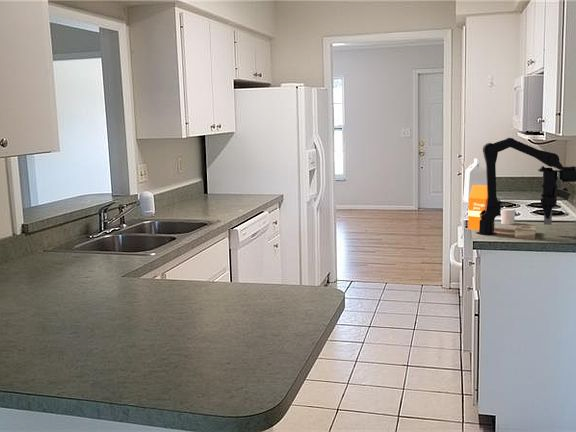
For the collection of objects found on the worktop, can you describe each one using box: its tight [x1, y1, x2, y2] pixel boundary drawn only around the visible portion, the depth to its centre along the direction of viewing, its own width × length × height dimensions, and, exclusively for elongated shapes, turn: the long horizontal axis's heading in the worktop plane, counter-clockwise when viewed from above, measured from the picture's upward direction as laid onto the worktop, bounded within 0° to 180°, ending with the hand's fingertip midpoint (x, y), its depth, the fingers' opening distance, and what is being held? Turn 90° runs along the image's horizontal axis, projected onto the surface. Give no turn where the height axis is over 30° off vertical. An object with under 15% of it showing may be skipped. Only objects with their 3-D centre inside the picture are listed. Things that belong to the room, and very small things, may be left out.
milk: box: [462, 158, 487, 204], centre depth 380 cm, size 12×12×26 cm
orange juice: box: [467, 185, 487, 231], centre depth 290 cm, size 8×9×20 cm
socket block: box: [514, 224, 537, 240], centre depth 274 cm, size 16×8×3 cm, turn 157°
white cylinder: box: [500, 208, 517, 226], centre depth 304 cm, size 7×7×7 cm
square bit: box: [543, 209, 553, 226], centre depth 272 cm, size 3×3×8 cm
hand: (547, 218), depth 273 cm, fingers closed on square bit, 3 cm apart
